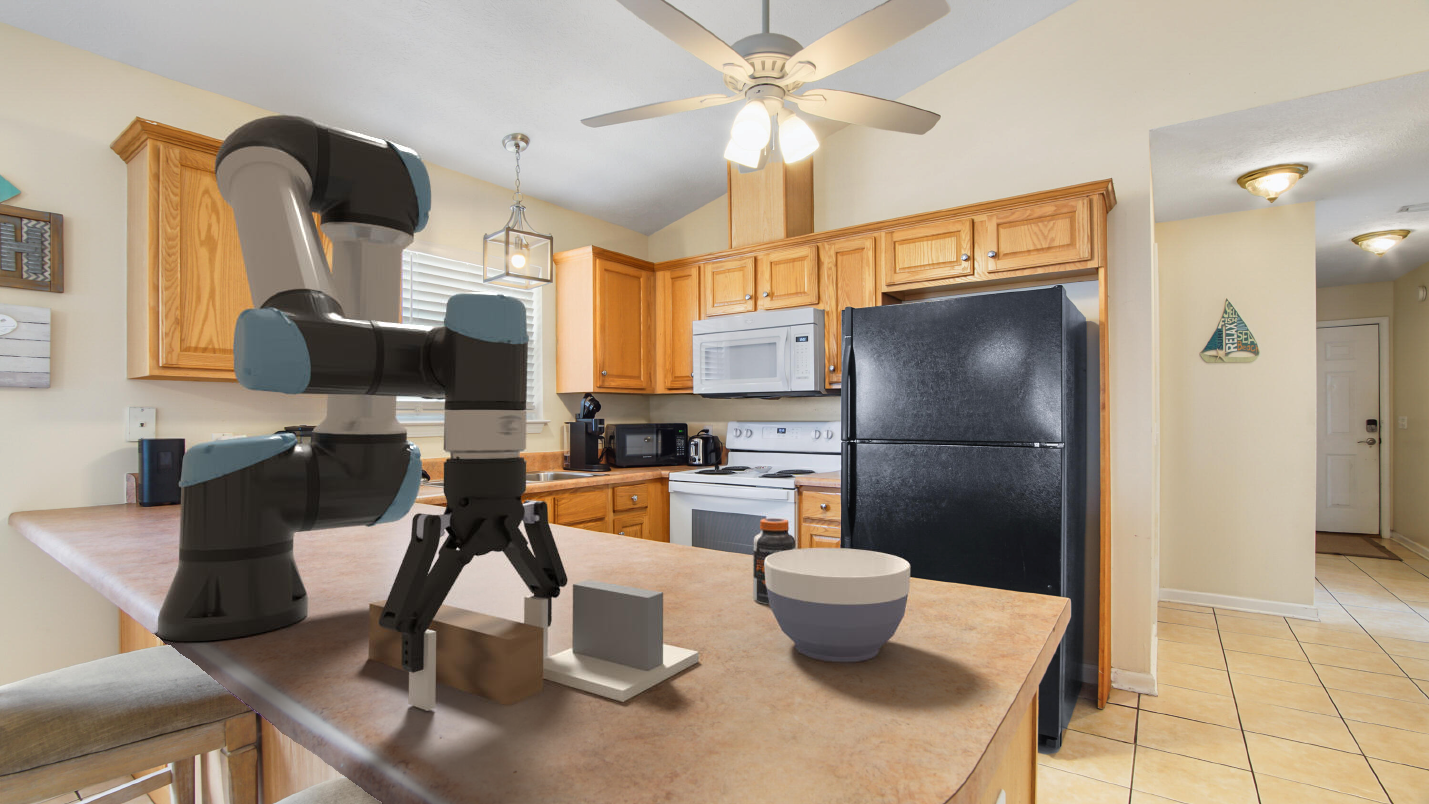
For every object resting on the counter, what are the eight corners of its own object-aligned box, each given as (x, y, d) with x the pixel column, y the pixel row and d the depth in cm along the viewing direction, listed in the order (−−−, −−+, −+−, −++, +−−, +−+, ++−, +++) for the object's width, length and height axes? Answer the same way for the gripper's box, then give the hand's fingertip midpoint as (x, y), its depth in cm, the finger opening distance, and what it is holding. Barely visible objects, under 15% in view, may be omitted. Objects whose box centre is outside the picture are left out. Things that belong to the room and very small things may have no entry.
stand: (529, 674, 65) (530, 592, 66) (611, 641, 75) (611, 570, 76) (622, 701, 59) (623, 611, 59) (698, 661, 69) (698, 584, 69)
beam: (368, 660, 70) (369, 603, 70) (403, 649, 73) (404, 595, 74) (508, 708, 58) (509, 639, 58) (543, 693, 61) (543, 627, 62)
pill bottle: (750, 604, 91) (750, 521, 91) (755, 593, 97) (755, 516, 97) (794, 606, 90) (794, 522, 90) (796, 595, 96) (796, 517, 96)
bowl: (921, 636, 77) (920, 554, 77) (897, 685, 63) (896, 583, 63) (790, 619, 84) (790, 543, 84) (742, 660, 69) (742, 568, 70)
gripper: (387, 462, 51) (382, 743, 51) (601, 451, 72) (600, 651, 71) (336, 459, 56) (331, 720, 55) (552, 450, 76) (551, 640, 75)
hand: (483, 682), depth 63 cm, fingers open, 12 cm apart
